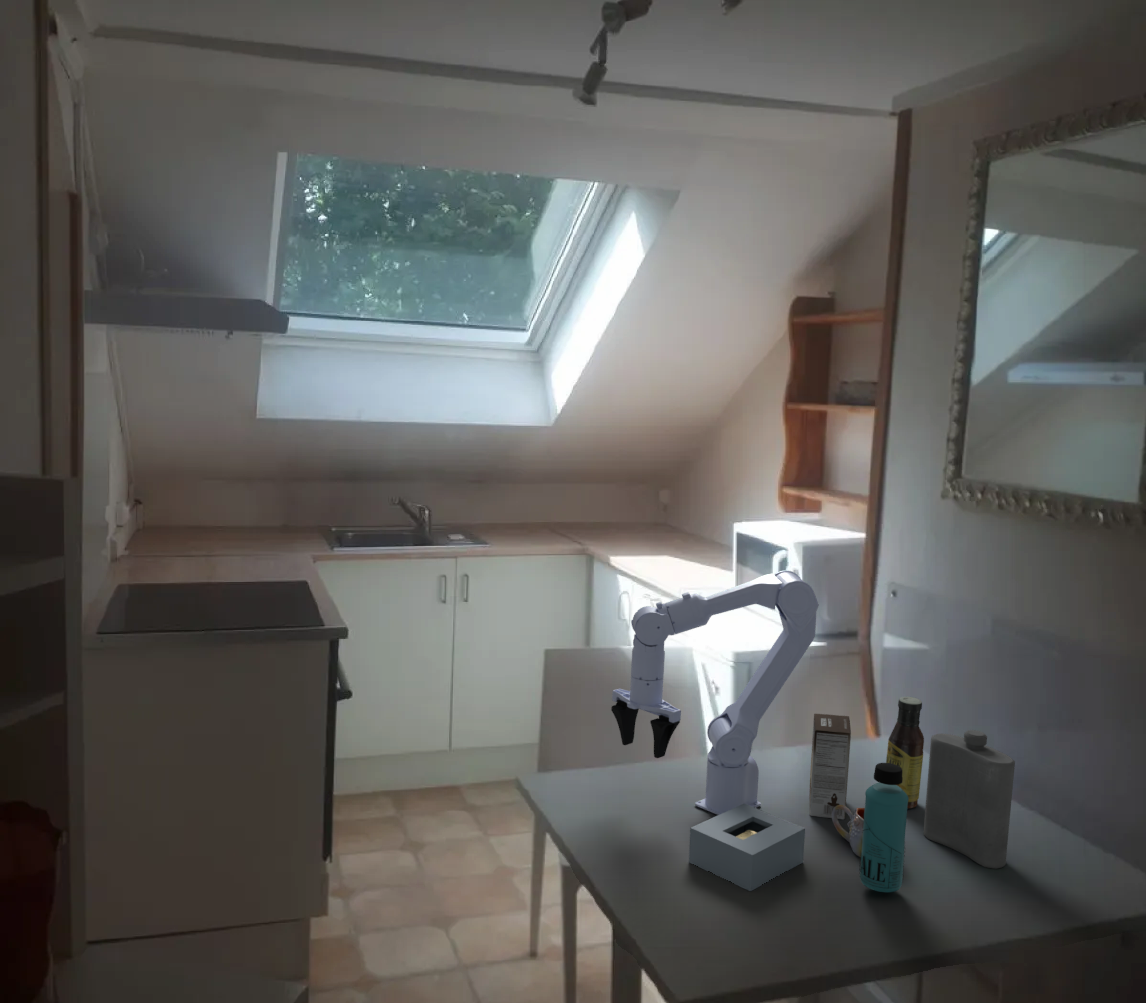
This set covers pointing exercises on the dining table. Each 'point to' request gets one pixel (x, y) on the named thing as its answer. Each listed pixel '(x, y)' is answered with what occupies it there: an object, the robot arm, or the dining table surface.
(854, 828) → the mug
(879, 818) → the beverage bottle
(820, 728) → the coffee box
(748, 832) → the brass block
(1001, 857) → the flask
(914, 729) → the sauce bottle
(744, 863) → the grey block with hole
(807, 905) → the dining table surface
